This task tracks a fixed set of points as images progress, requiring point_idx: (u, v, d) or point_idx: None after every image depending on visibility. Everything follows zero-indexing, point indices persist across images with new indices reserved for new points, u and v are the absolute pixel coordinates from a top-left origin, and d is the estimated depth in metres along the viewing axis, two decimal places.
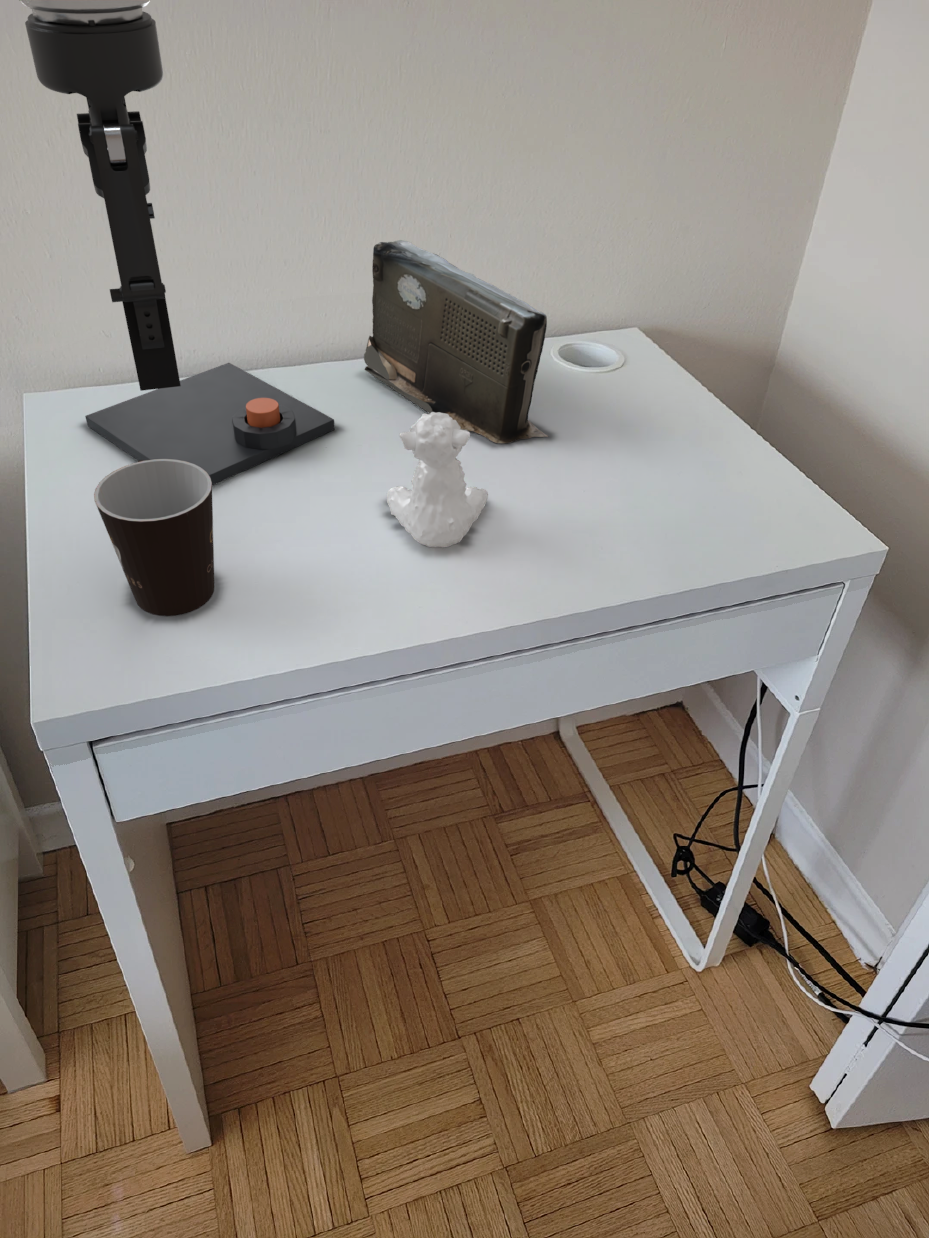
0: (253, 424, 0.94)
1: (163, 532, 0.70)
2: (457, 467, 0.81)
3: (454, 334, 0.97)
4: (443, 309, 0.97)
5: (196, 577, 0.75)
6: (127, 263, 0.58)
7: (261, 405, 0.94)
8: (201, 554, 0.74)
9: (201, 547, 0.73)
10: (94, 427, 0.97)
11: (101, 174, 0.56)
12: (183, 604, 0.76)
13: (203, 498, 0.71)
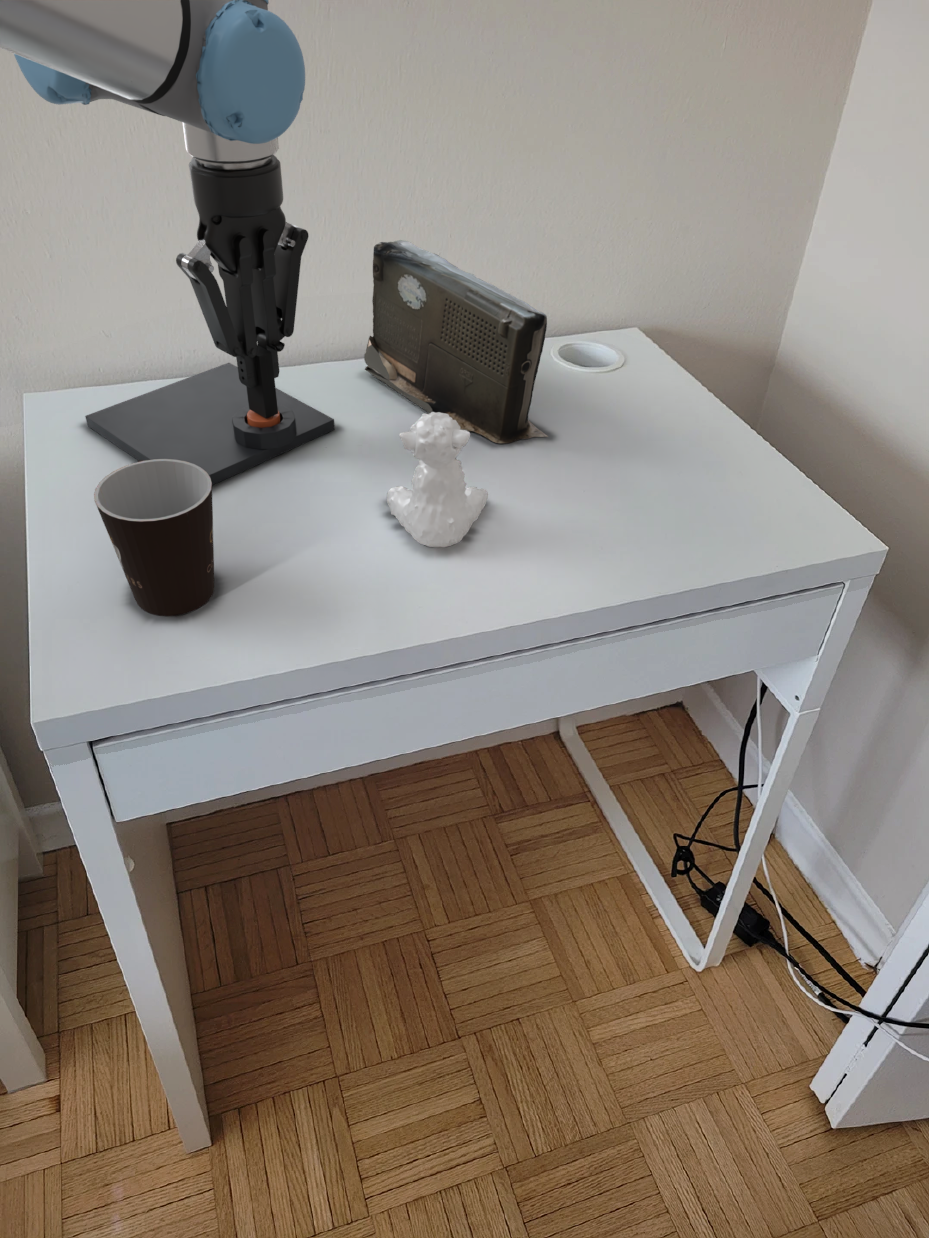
0: None
1: (163, 532, 0.70)
2: (457, 467, 0.81)
3: (454, 334, 0.97)
4: (443, 309, 0.97)
5: (196, 577, 0.75)
6: (213, 333, 0.86)
7: None
8: (201, 554, 0.74)
9: (201, 547, 0.73)
10: (94, 427, 0.97)
11: (191, 281, 0.83)
12: (183, 604, 0.76)
13: (203, 498, 0.71)
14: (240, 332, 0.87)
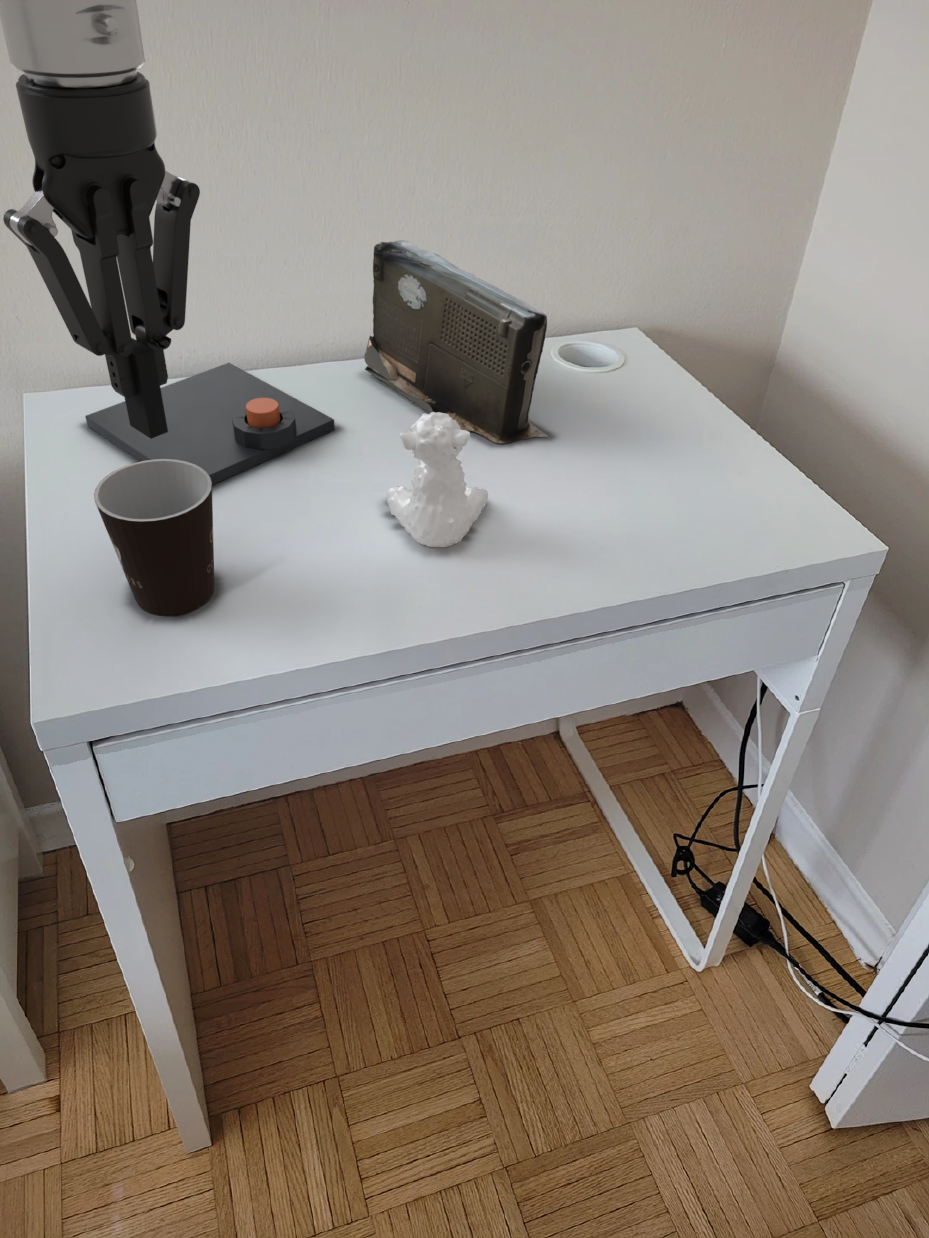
0: (253, 424, 0.94)
1: (163, 532, 0.70)
2: (457, 467, 0.81)
3: (455, 334, 0.97)
4: (443, 309, 0.97)
5: (196, 577, 0.75)
6: (68, 323, 0.63)
7: (261, 405, 0.94)
8: (201, 554, 0.74)
9: (201, 547, 0.73)
10: (94, 427, 0.97)
11: (29, 250, 0.59)
12: (183, 604, 0.76)
13: (203, 498, 0.71)
14: (106, 322, 0.64)
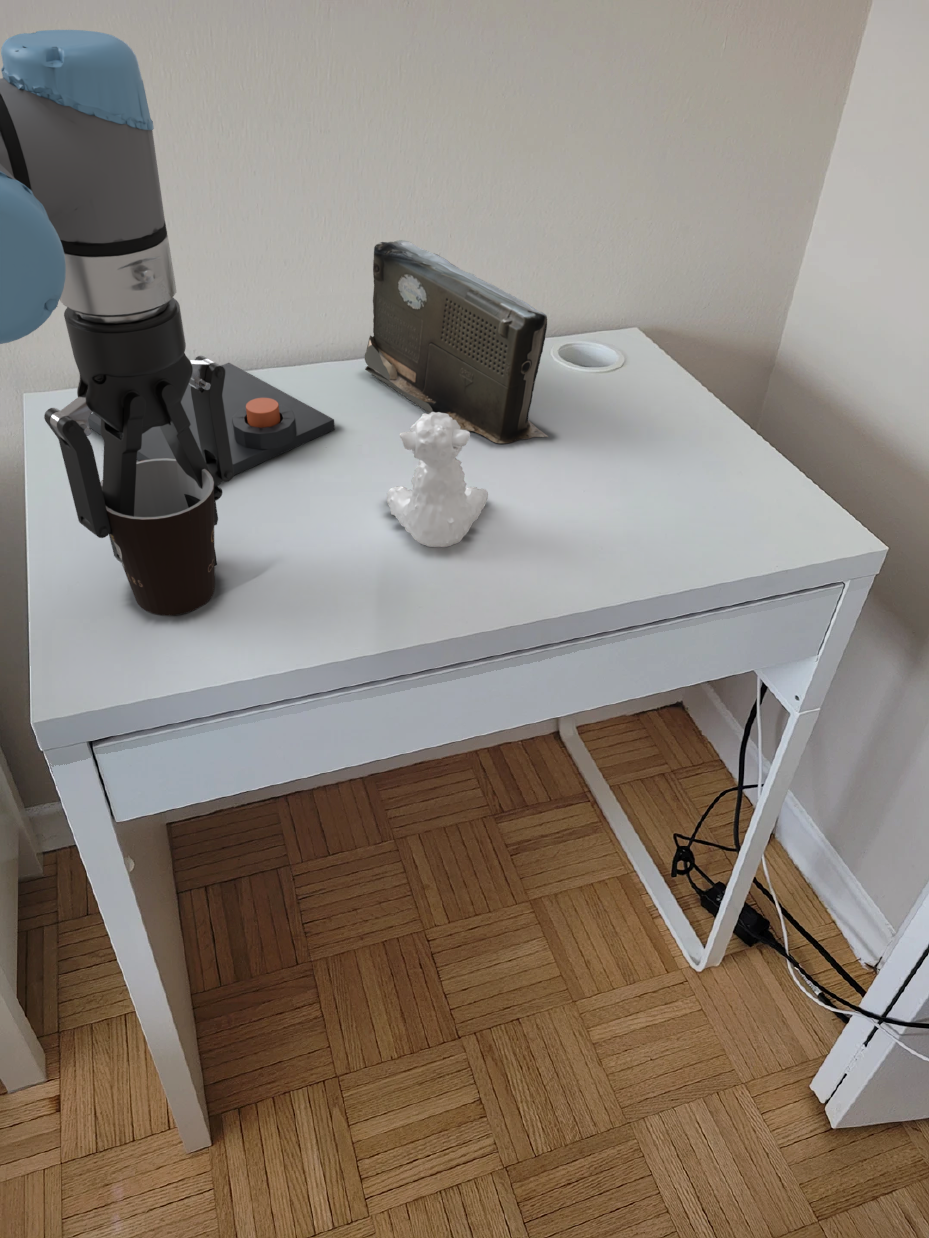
0: (253, 424, 0.94)
1: (165, 531, 0.70)
2: (457, 467, 0.81)
3: (455, 334, 0.97)
4: (443, 309, 0.97)
5: (197, 576, 0.75)
6: (78, 506, 0.70)
7: (261, 405, 0.94)
8: (202, 553, 0.74)
9: (202, 546, 0.73)
10: (94, 427, 0.97)
11: (60, 442, 0.67)
12: (183, 604, 0.76)
13: (205, 497, 0.71)
14: (114, 504, 0.71)
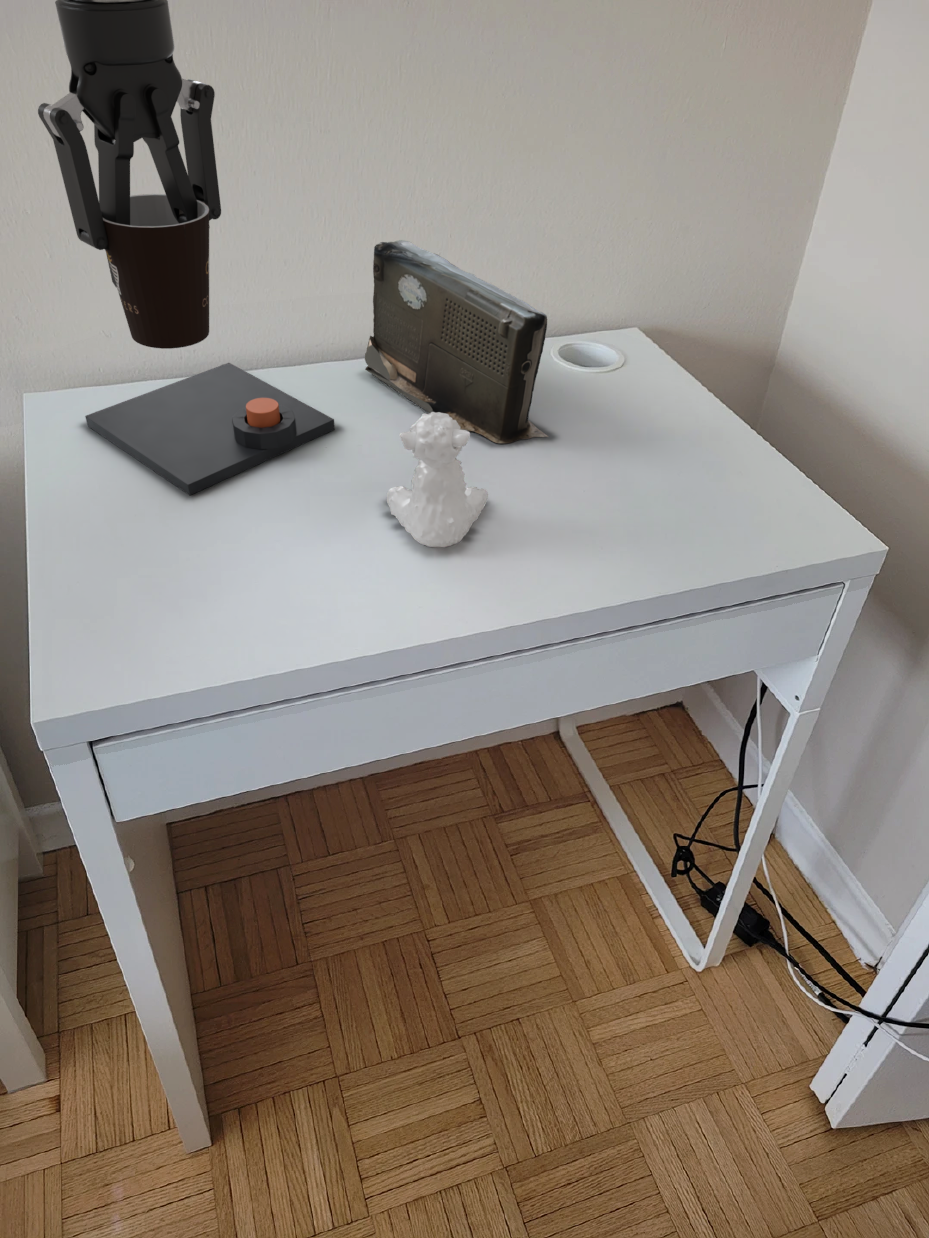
0: (253, 424, 0.94)
1: (160, 243, 0.72)
2: (457, 467, 0.81)
3: (455, 334, 0.97)
4: (443, 309, 0.97)
5: (191, 306, 0.77)
6: (76, 216, 0.72)
7: (261, 405, 0.94)
8: (197, 281, 0.76)
9: (197, 273, 0.76)
10: (94, 427, 0.97)
11: (54, 143, 0.69)
12: (178, 336, 0.78)
13: (200, 217, 0.74)
14: (111, 218, 0.73)
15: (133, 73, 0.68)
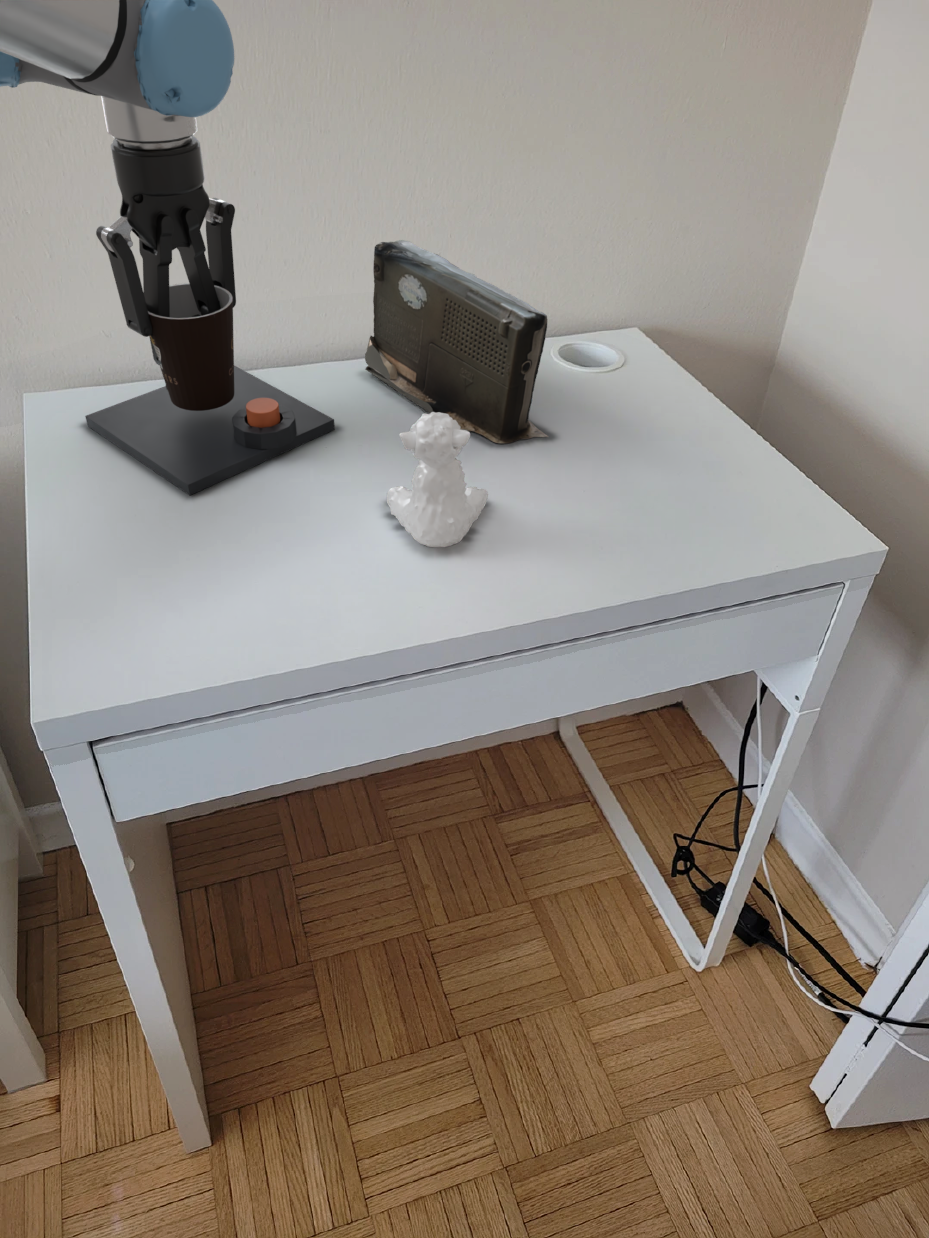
0: (253, 424, 0.94)
1: (195, 330, 0.89)
2: (457, 467, 0.81)
3: (455, 334, 0.97)
4: (443, 309, 0.97)
5: (220, 376, 0.93)
6: (126, 311, 0.88)
7: (261, 405, 0.94)
8: (224, 356, 0.92)
9: (224, 349, 0.92)
10: (94, 427, 0.97)
11: (109, 255, 0.85)
12: (210, 400, 0.94)
13: (226, 306, 0.90)
14: (154, 311, 0.89)
15: (171, 198, 0.85)
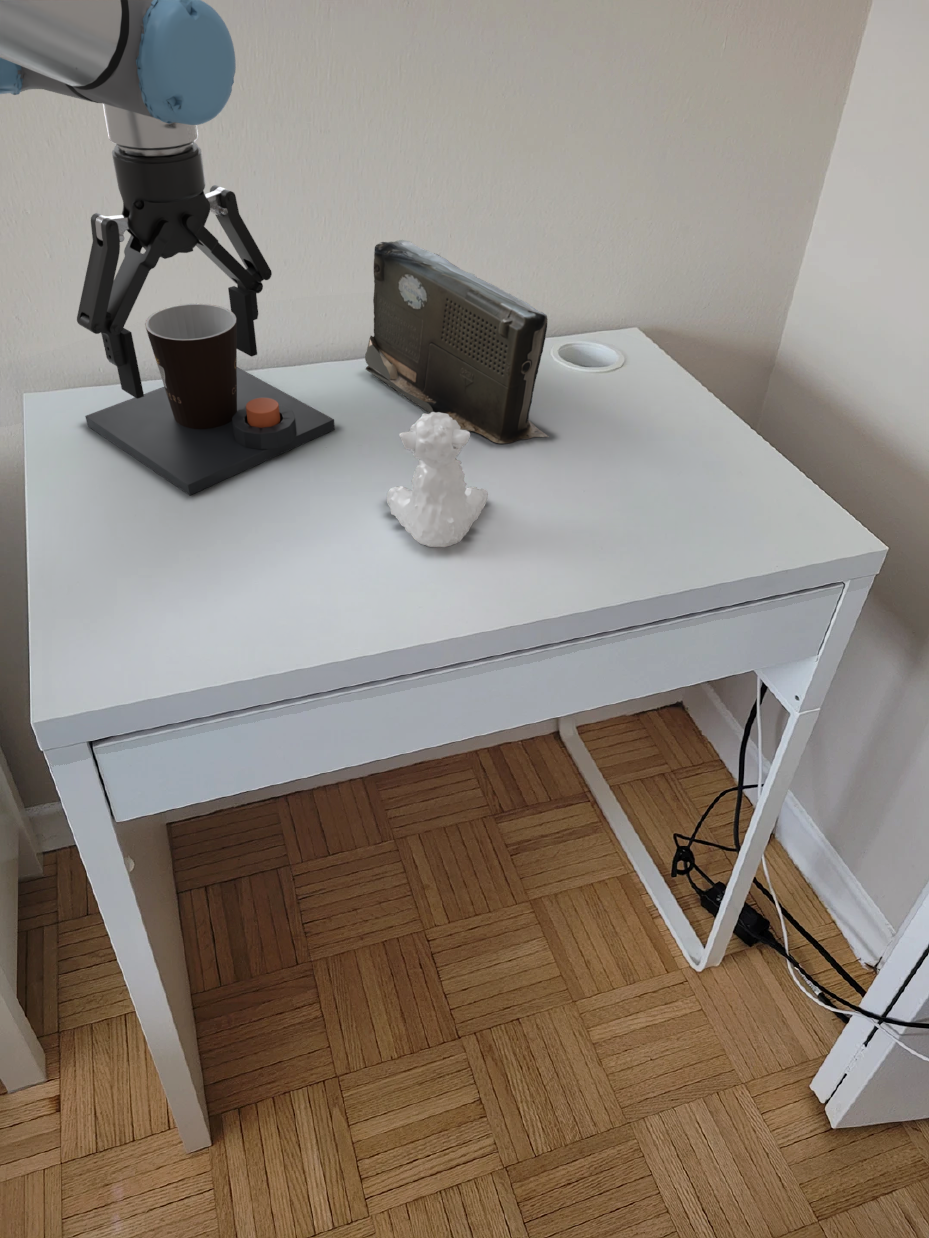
0: (253, 424, 0.94)
1: (199, 351, 0.90)
2: (457, 467, 0.81)
3: (455, 334, 0.97)
4: (443, 309, 0.97)
5: (223, 396, 0.95)
6: (84, 302, 0.85)
7: (261, 405, 0.94)
8: (228, 375, 0.94)
9: (228, 369, 0.93)
10: (94, 427, 0.97)
11: (93, 244, 0.83)
12: (213, 419, 0.96)
13: (230, 327, 0.91)
14: (115, 305, 0.86)
15: (172, 205, 0.85)
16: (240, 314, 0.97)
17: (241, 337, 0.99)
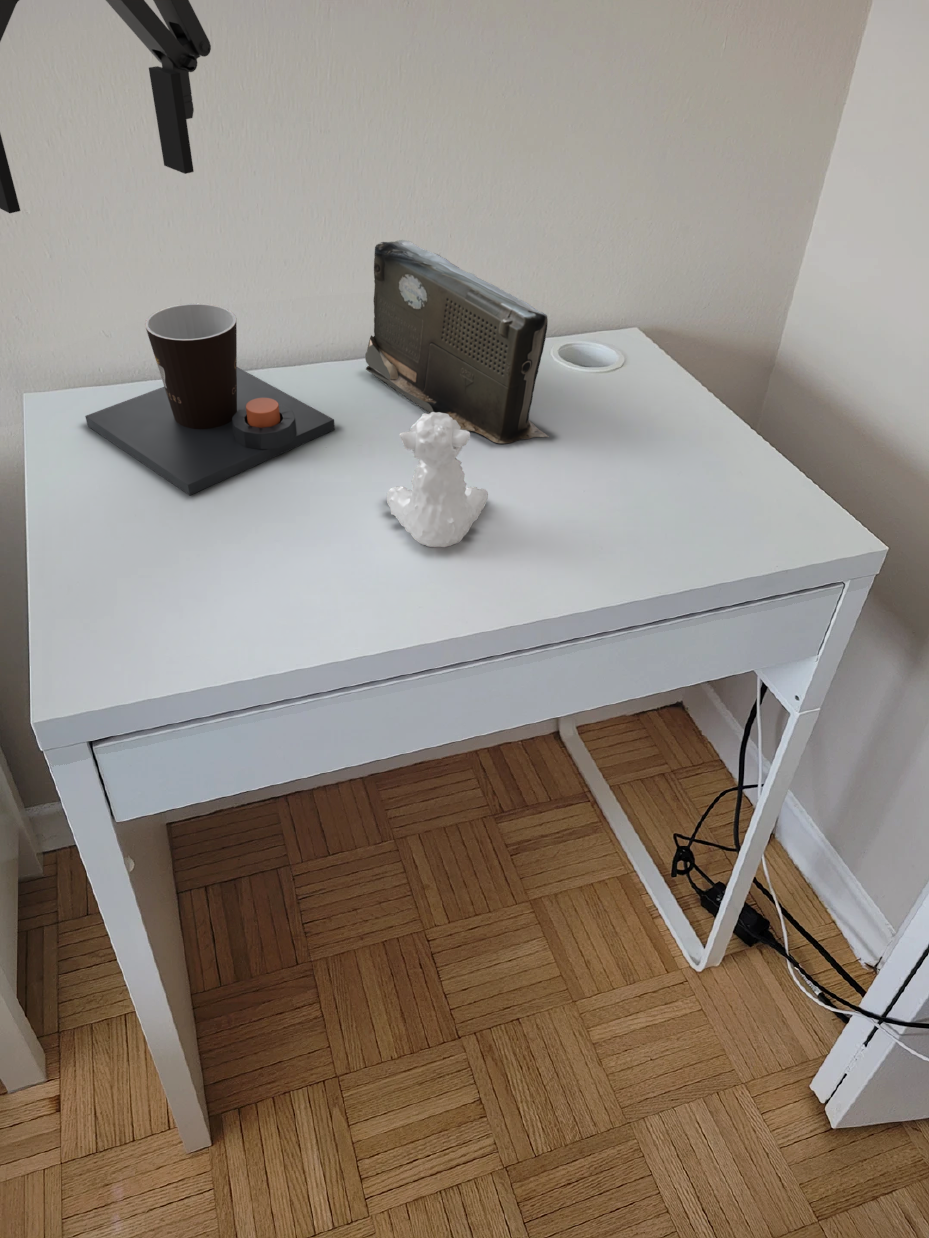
0: (253, 424, 0.94)
1: (199, 351, 0.90)
2: (457, 467, 0.81)
3: (455, 334, 0.97)
4: (444, 309, 0.97)
5: (223, 396, 0.95)
6: None
7: (261, 405, 0.94)
8: (228, 375, 0.94)
9: (228, 369, 0.93)
10: (94, 427, 0.97)
11: None
12: (213, 419, 0.96)
13: (230, 327, 0.91)
14: None
15: None
16: (167, 107, 0.68)
17: (170, 145, 0.70)
